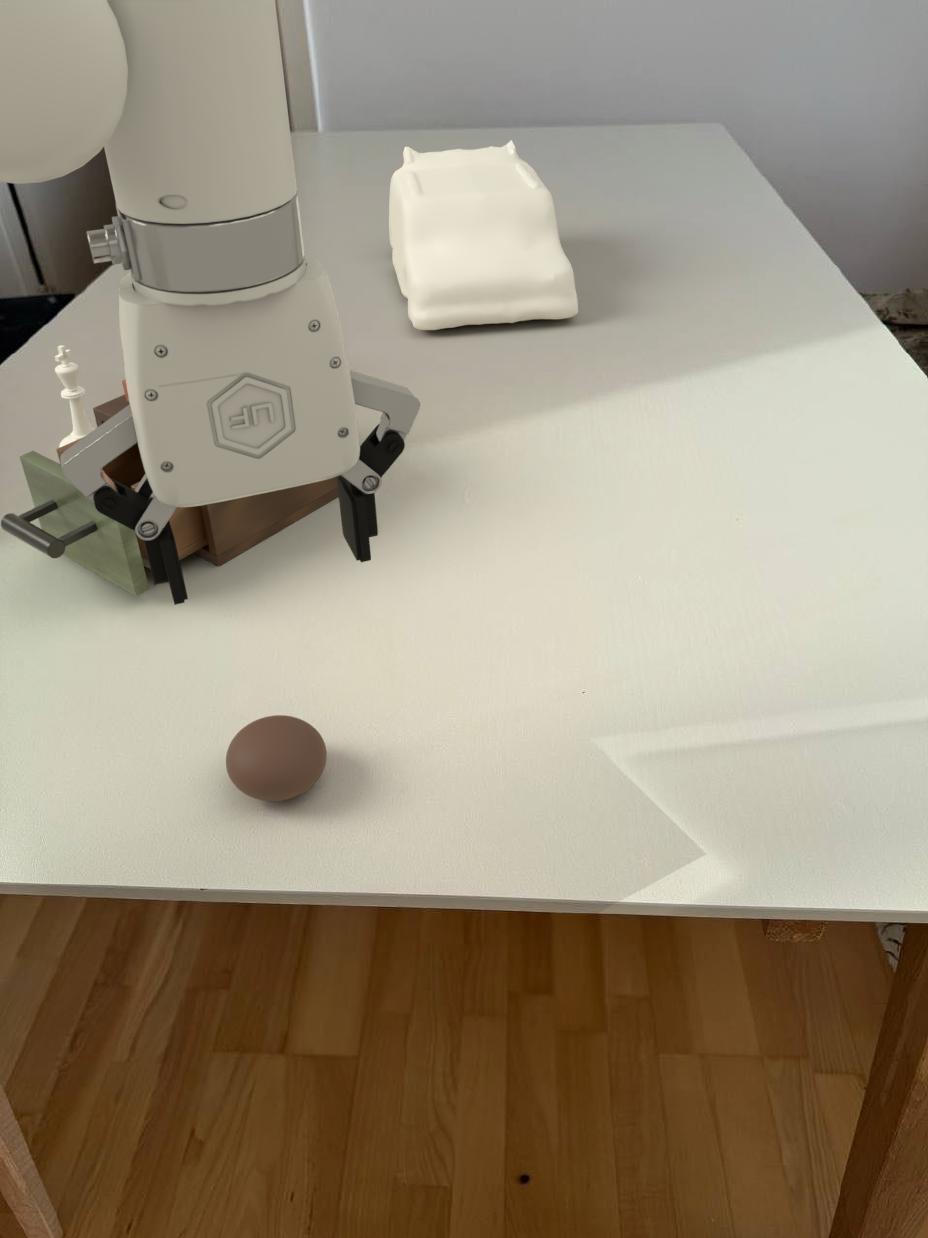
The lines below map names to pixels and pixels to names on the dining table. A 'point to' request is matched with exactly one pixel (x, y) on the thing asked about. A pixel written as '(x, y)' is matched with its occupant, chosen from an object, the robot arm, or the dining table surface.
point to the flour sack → (477, 240)
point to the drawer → (94, 522)
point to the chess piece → (72, 396)
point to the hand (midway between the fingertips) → (269, 568)
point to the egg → (276, 758)
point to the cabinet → (246, 508)
